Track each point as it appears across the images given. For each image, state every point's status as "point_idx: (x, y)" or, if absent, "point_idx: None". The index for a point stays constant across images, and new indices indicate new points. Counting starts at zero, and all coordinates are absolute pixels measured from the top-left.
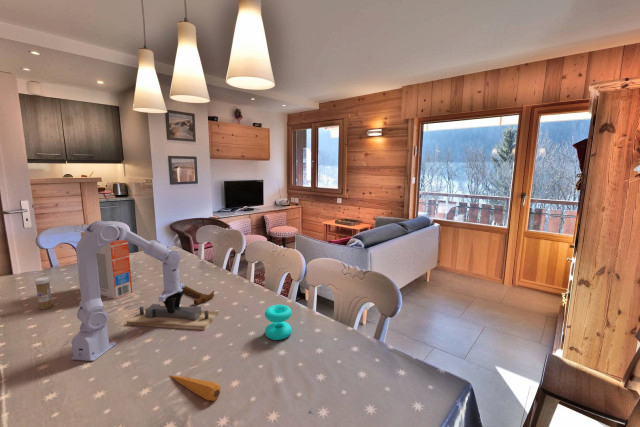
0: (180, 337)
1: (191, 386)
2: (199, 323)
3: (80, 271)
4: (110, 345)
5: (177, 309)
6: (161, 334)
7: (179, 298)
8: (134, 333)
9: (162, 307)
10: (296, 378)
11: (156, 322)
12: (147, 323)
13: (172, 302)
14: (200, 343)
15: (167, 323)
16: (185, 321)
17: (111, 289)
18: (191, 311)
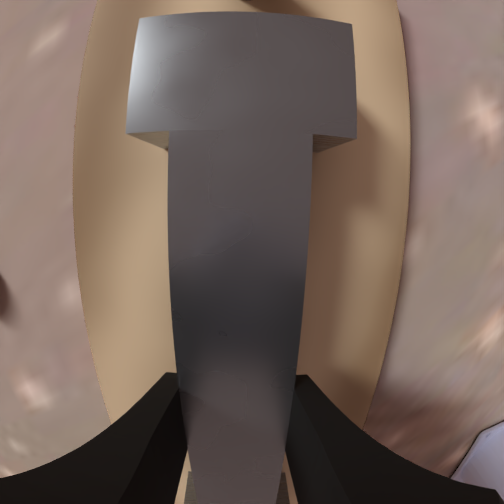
0: (486, 138)
1: None
2: (360, 18)
3: None
4: (490, 436)
5: (272, 359)
6: (457, 299)
7: (135, 479)
8: (412, 444)
9: (236, 501)
10: None
11: (354, 422)
12: None
13: (445, 479)
14: (492, 12)
15: (382, 336)
16: (346, 171)
17: None
18: (329, 81)
